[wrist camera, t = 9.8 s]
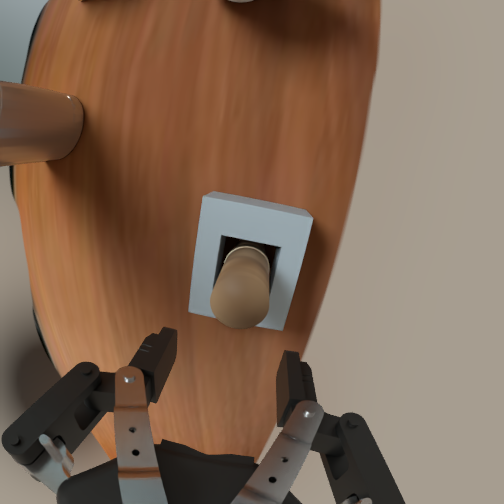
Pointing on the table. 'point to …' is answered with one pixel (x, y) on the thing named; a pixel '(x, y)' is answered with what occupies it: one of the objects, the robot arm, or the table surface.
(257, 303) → the walnut peg
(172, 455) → the robot arm
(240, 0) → the teacup
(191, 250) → the table surface
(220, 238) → the hole block
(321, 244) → the table surface
